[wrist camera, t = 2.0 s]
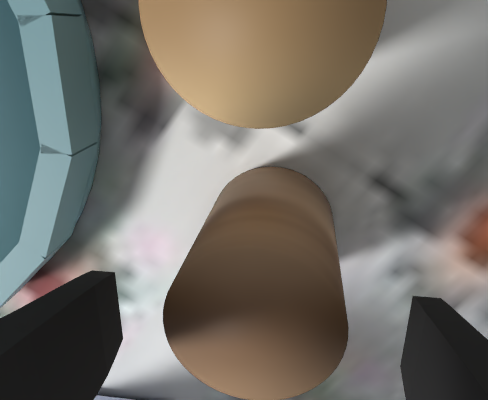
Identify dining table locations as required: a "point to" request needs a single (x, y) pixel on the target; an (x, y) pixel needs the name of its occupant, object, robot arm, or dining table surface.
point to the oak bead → (261, 54)
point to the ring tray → (44, 132)
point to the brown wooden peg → (261, 290)
